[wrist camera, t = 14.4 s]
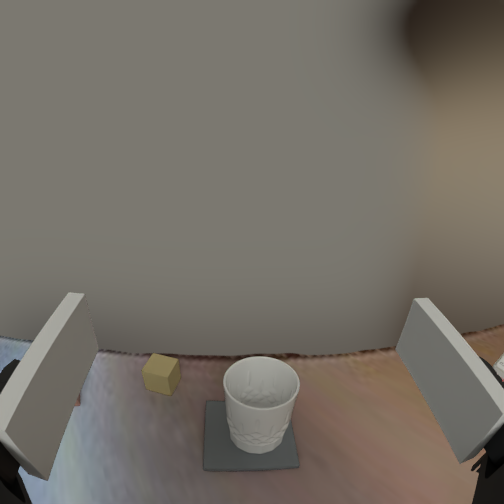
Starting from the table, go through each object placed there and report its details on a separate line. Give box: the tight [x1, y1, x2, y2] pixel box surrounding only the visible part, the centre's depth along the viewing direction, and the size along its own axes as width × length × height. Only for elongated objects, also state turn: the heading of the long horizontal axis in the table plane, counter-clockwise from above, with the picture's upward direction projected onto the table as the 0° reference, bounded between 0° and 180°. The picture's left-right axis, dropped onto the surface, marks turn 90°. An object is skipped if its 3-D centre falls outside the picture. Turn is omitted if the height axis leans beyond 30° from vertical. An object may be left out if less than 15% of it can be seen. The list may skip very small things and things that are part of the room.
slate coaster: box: [203, 401, 300, 471], centre depth 35 cm, size 11×11×1 cm
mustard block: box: [141, 353, 181, 396], centre depth 41 cm, size 4×4×4 cm
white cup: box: [223, 356, 300, 454], centre depth 33 cm, size 8×8×10 cm
